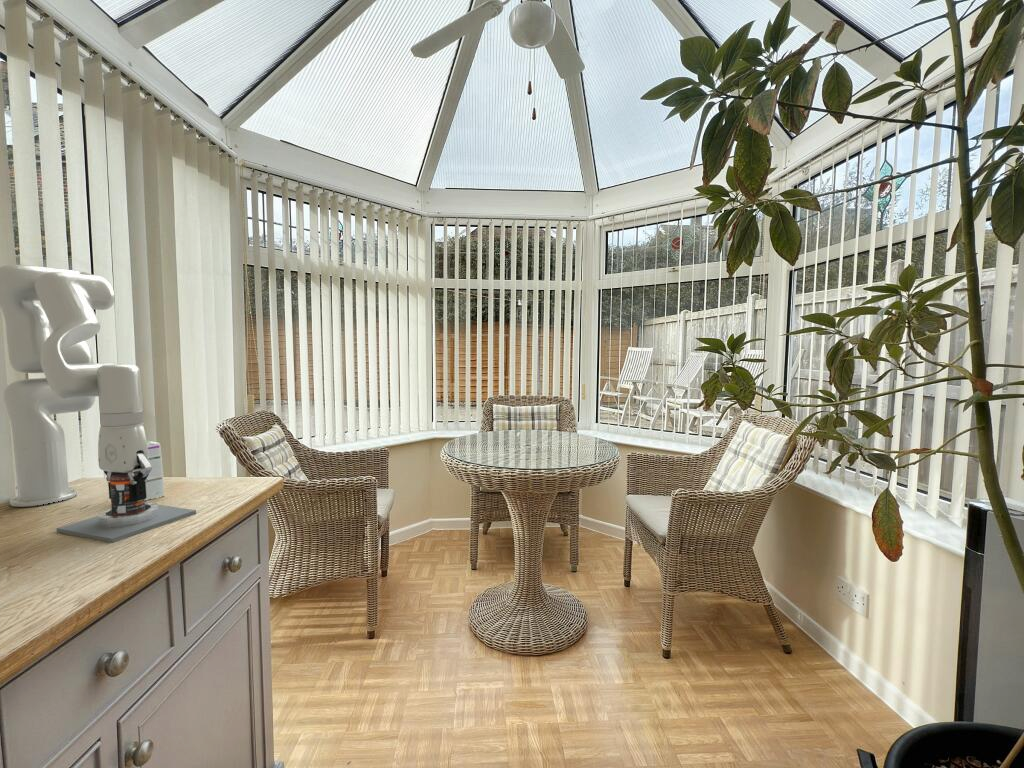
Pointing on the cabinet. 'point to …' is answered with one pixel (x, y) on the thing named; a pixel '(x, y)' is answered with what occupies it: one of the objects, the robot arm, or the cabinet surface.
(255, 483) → the cabinet surface
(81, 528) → the rubber mat
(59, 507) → the cabinet surface
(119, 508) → the supplement bottle
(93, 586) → the cabinet surface
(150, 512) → the ring collar
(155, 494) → the syrup box
